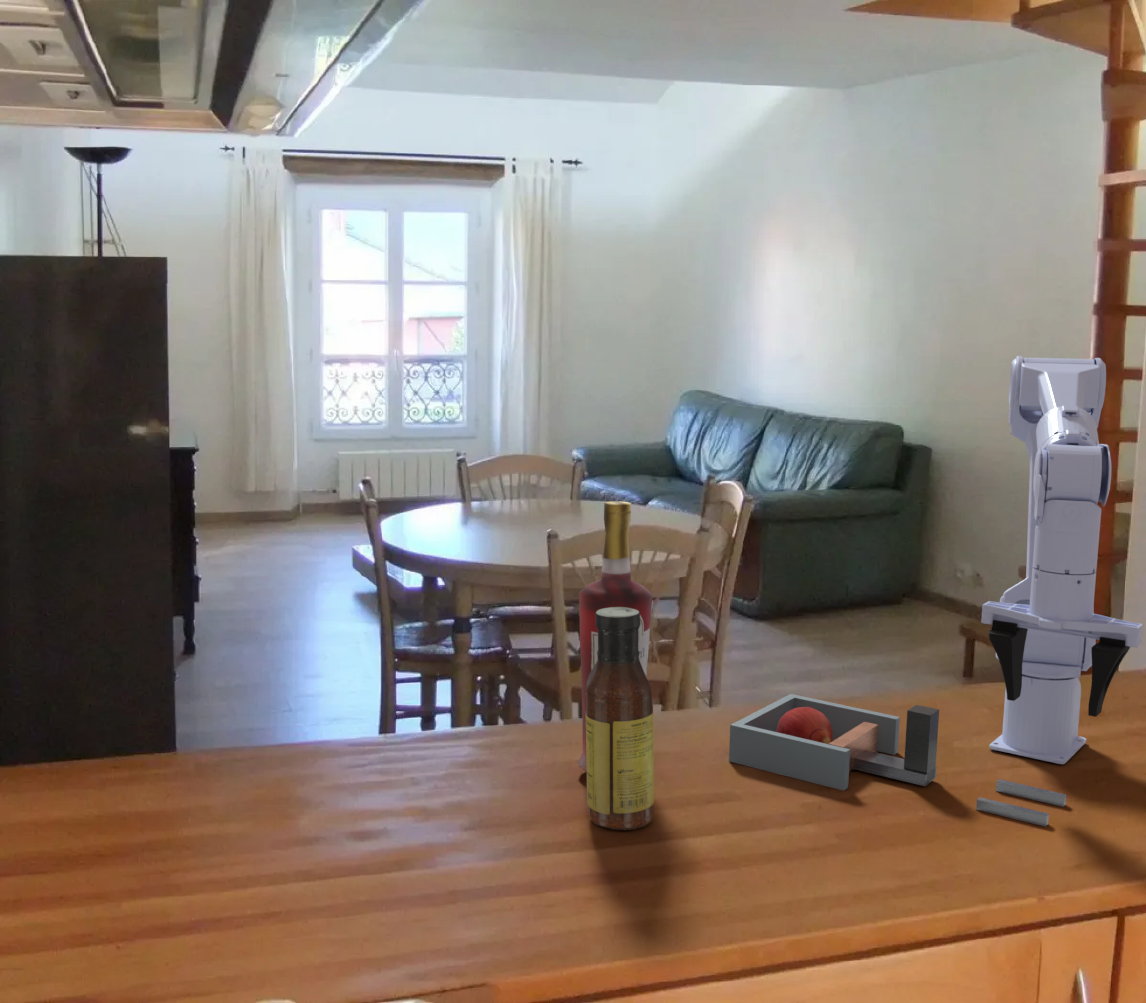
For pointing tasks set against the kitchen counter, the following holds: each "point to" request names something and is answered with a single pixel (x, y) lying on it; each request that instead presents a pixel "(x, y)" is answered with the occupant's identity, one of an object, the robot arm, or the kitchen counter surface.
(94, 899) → the kitchen counter surface
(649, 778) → the sauce bottle
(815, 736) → the onion
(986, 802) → the rail
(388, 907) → the kitchen counter surface
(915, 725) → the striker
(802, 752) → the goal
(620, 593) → the liquor
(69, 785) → the kitchen counter surface
